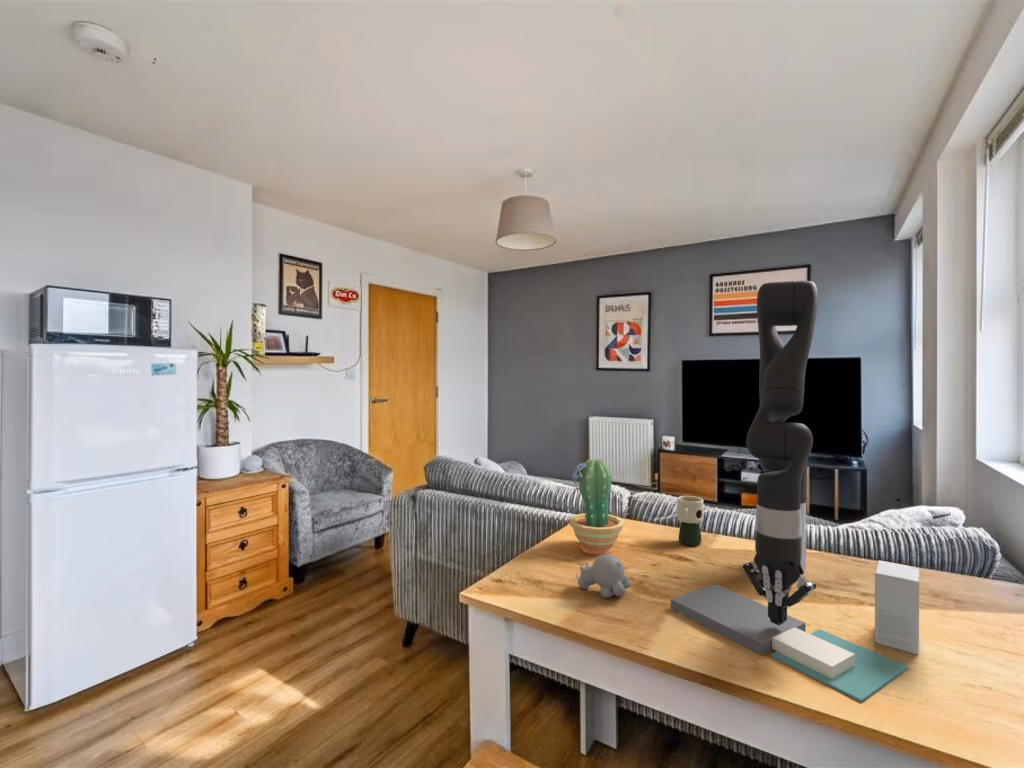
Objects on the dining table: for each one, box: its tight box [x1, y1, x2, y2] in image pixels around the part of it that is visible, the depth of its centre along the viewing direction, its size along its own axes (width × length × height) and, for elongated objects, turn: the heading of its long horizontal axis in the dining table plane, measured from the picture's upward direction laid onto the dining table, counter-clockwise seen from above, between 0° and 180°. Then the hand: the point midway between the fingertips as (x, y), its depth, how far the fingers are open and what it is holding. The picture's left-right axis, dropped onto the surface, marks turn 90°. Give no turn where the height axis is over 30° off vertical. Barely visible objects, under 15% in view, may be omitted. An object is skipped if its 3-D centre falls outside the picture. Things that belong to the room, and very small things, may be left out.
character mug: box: [676, 495, 704, 546], centre depth 142 cm, size 11×7×13 cm, turn 147°
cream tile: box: [772, 627, 855, 679], centre depth 85 cm, size 7×10×2 cm
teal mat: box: [770, 628, 909, 703], centre depth 84 cm, size 16×14×1 cm
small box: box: [874, 559, 921, 655], centre depth 91 cm, size 8×6×13 cm
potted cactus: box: [568, 458, 625, 556], centre depth 138 cm, size 15×15×25 cm
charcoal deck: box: [670, 583, 807, 656], centre depth 98 cm, size 14×20×2 cm
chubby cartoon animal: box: [575, 553, 631, 599], centre depth 111 cm, size 7×12×8 cm, turn 54°
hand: (777, 622), depth 91 cm, fingers closed
